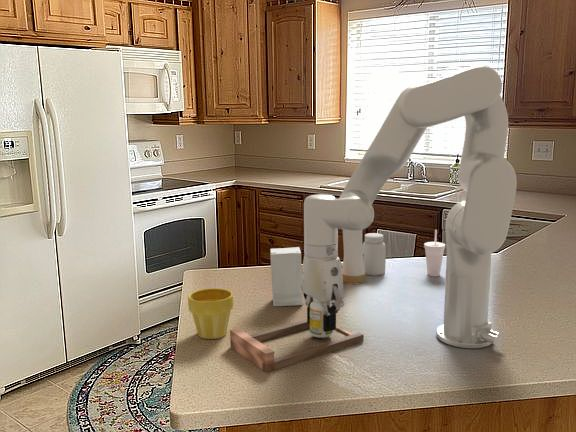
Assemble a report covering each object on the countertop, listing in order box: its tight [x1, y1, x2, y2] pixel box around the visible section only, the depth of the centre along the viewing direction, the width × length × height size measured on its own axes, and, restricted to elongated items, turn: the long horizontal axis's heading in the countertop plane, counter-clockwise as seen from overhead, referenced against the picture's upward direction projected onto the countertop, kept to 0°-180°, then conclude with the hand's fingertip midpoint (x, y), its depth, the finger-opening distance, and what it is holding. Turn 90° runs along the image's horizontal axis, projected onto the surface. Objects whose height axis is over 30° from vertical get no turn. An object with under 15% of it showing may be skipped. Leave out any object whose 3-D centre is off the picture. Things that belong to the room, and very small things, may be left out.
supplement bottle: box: [309, 298, 334, 339], centre depth 132 cm, size 5×5×10 cm
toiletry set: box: [340, 229, 387, 285], centre depth 173 cm, size 25×8×21 cm, turn 135°
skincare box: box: [269, 246, 304, 307], centre depth 154 cm, size 8×6×15 cm
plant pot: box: [187, 287, 234, 340], centre depth 135 cm, size 10×10×10 cm
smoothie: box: [423, 229, 446, 277], centre depth 177 cm, size 6×6×14 cm
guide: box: [229, 319, 365, 373], centre depth 129 cm, size 15×26×4 cm, turn 124°
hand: (321, 325), depth 132 cm, fingers closed on supplement bottle, 5 cm apart
